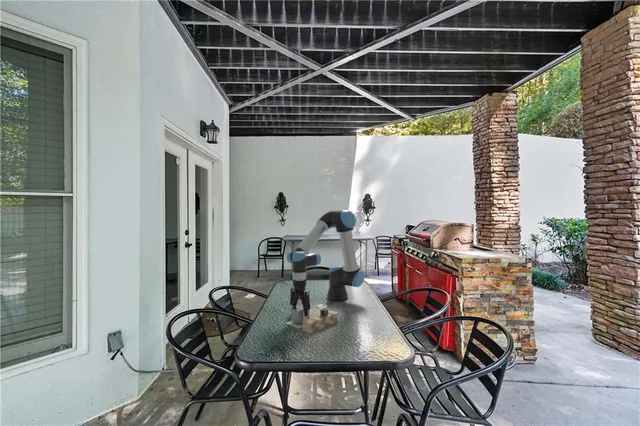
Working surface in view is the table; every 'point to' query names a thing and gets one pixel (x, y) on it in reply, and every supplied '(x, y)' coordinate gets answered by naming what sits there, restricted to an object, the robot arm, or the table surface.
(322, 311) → the latch
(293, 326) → the mat
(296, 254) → the robot arm
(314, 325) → the long wooden block
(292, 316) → the gray cube on plate
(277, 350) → the table surface
